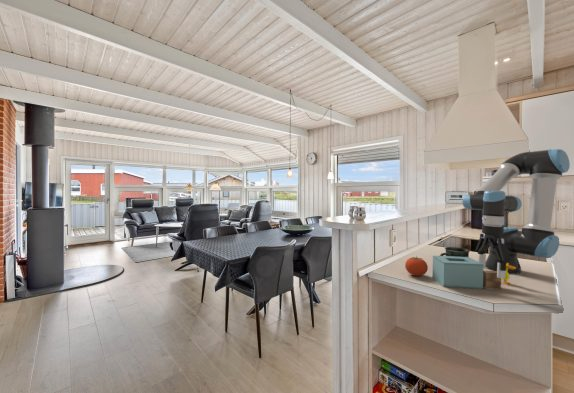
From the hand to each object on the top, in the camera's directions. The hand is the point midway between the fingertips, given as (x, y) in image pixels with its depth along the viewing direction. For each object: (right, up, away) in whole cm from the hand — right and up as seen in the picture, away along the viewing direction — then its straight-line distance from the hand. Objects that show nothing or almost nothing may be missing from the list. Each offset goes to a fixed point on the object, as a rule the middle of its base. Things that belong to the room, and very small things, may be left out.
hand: (490, 272), depth 114 cm
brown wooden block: (0, -7, 0) cm, 7 cm away
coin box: (-12, -6, +5) cm, 15 cm away
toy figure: (+11, -7, +5) cm, 14 cm away
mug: (-2, -6, +22) cm, 23 cm away
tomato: (-26, -6, +16) cm, 31 cm away
